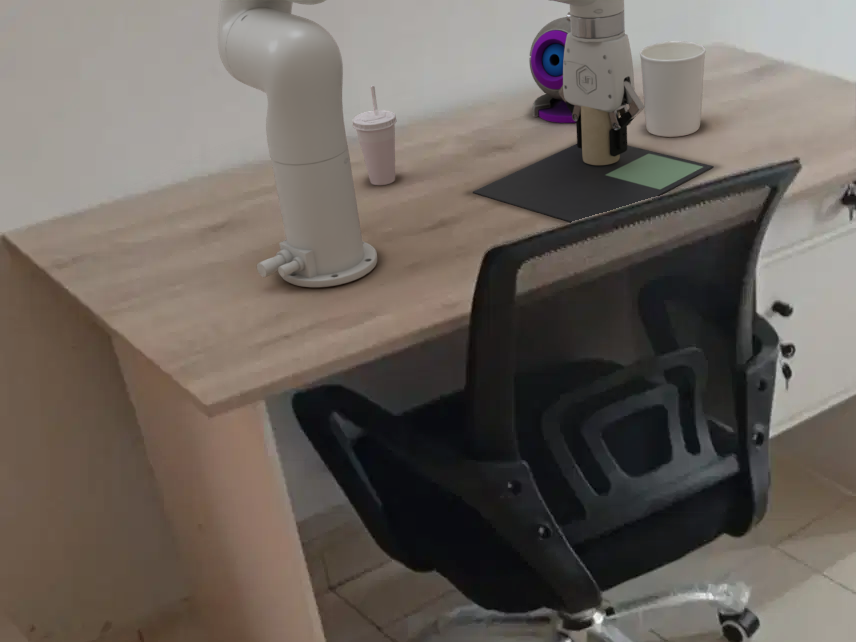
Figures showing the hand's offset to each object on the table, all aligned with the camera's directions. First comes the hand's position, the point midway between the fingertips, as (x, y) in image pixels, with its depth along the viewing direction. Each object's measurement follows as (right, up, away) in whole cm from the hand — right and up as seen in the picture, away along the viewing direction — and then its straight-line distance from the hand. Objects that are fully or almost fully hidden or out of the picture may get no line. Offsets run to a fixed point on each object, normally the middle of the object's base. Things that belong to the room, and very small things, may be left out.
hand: (602, 148), depth 183 cm
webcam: (-3, +11, +21) cm, 24 cm away
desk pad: (-2, -6, -5) cm, 8 cm away
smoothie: (-32, -5, +2) cm, 33 cm away
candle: (0, -2, +1) cm, 2 cm away
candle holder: (+12, +5, +10) cm, 17 cm away
